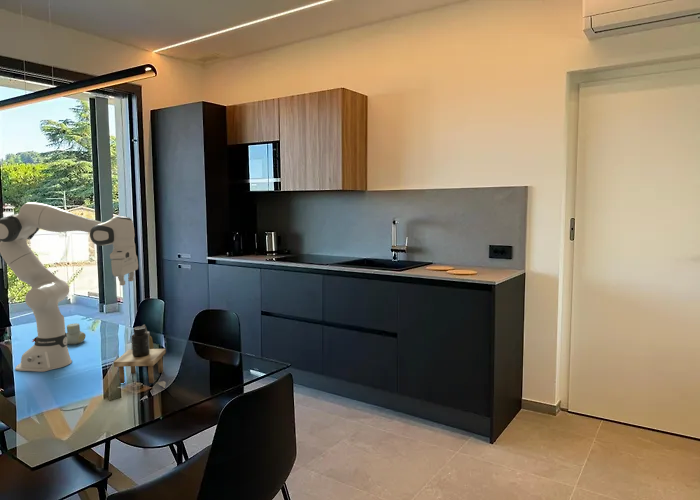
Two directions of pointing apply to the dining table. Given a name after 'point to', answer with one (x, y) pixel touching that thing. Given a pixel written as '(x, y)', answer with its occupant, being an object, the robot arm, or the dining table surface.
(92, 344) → the dining table surface
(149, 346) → the squeeze bottle
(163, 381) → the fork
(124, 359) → the stool
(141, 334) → the supplement bottle
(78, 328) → the air freshener
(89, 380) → the dining table surface
